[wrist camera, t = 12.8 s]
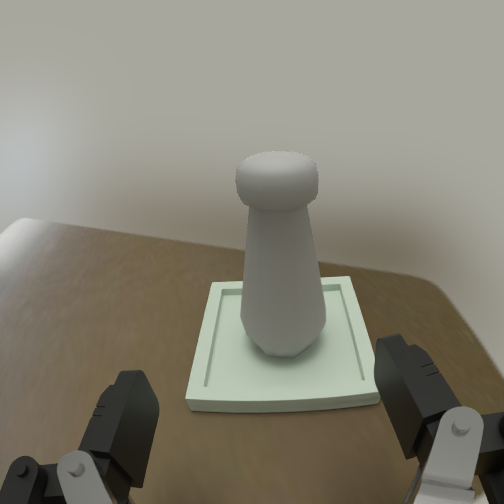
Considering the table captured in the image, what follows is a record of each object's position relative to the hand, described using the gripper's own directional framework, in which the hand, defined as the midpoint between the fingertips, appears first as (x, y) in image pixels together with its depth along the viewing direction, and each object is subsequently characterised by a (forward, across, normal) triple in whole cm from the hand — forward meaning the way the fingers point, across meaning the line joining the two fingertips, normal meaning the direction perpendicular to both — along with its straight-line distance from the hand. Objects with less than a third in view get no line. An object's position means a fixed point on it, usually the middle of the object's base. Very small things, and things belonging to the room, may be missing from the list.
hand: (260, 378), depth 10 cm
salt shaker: (+11, -1, +7) cm, 13 cm away
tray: (+11, -1, +8) cm, 13 cm away
